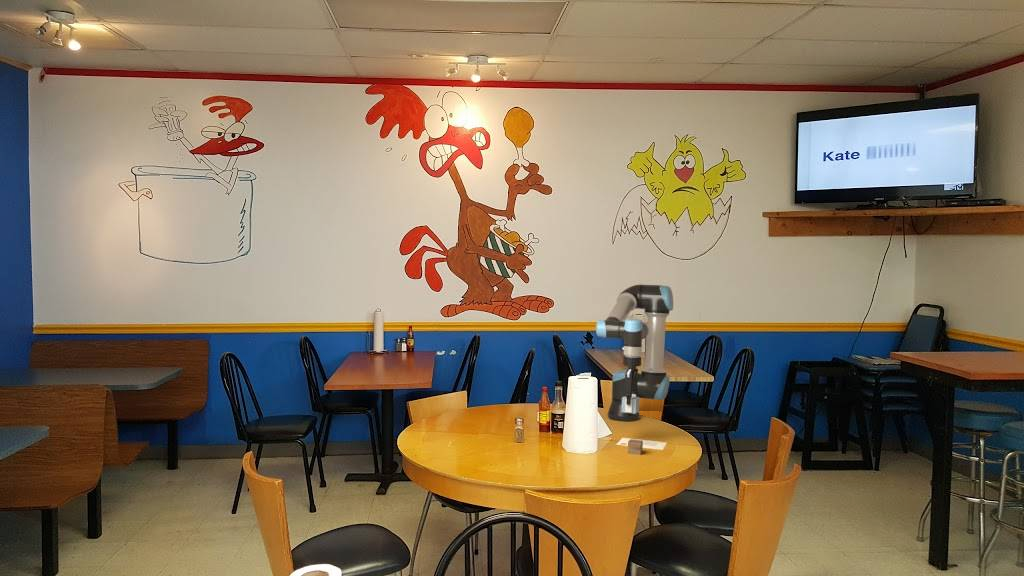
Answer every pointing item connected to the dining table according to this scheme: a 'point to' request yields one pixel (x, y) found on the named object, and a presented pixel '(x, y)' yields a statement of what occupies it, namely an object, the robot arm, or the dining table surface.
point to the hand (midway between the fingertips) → (630, 410)
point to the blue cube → (634, 404)
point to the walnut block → (635, 446)
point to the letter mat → (644, 443)
